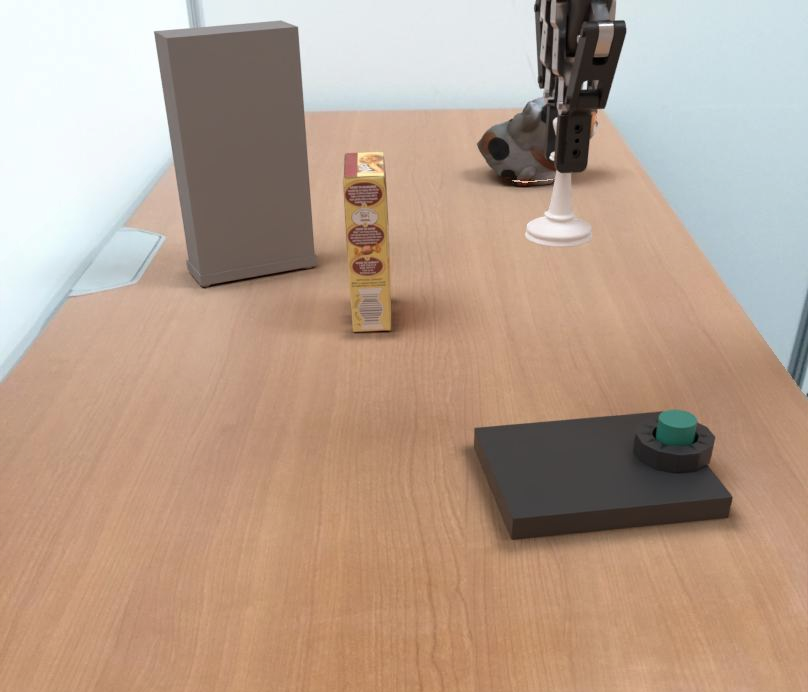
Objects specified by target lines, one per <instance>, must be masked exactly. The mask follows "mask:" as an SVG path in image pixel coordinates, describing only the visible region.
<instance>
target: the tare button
mask: <svg viewBox="0 0 808 692" xmlns="http://www.w3.org/2000/svg"><path fill="white" fill-rule="evenodd" d="M663 411H664V412H662V413H661V414H660V415H659V419H658V425H657V431H656V439H657V440H658V441H660V442H662V443H664V444H667V445H672V446H678V447H679V446H690V445H692V444H693V442H694V437H695V432H696V427H697V422H698V418H697V416H696V415H694V414H693V413H691V412H689V411H687V410H682V409H667V410H663Z"/></svg>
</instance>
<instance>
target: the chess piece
mask: <svg viewBox="0 0 808 692" xmlns="http://www.w3.org/2000/svg"><path fill="white" fill-rule="evenodd" d="M553 126H554V130H555V134H556V128H557V118H555V119H554V120H553ZM554 155H555V152H552V153H551V156H550V157H549V158H550V159H551V160H552V161H554ZM549 202H550V203H549V207H548V210H546V211H544V213H543V216H539V217H536V218H534V219H532V220H530V221H529V222H528V223H527V225H526V227H525V228H526V231H525V233H524V238H526V240H527V241H529V242H531V243H533V244H536V245H539V246H544V247H550V248H551V247H552V248H571V247H572V248H573V247H579V246H582V245H585V244H588V243H589V242H591V241H592V239H593V233H592V232H593V227H592V225H591V224H590V223H589V222H588V221H586V220H584V219H582V218H579V217H576V216H577V212H576V211H574V210H573V200H572V173H560V172H558V171H557V170H556V176H555V180H554V181H553V188H552V192H551V198H550V201H549Z"/></svg>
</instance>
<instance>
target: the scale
mask: <svg viewBox="0 0 808 692" xmlns="http://www.w3.org/2000/svg"><path fill="white" fill-rule="evenodd" d="M664 411H665V410H662V411H648V412H639V413H638V412H637V413H627V414H616V415H605V416H604V415H603V416H593V417H583V418H581V417H580V418H570V419H560V420H547V421H536V422H527V423H526V422H524V423H514V424H502V425H490V426H480V427H478V426H477V427H474V428H473V430H474V431H473V449H474V451H475V455H476V457H477V459H478V461H479V464H480V466H481V469H482V471H483V473H484V474H483V475H484V476H485V478H486V481H487V483H488V486H489V489H490V491H491V493H492V497H493V498H494V500H495V503H496V505H497V508H498V511H499V513H500V515H501V518H502V521H503V522H504V525H505V528H506V530H507V533H508V535H509V537H510V539H511V541H514V540H523V539H535V538H544V537H554V536H564V535H575V534H583V533H594V532H605V531H615V530H622V529H633V528H644V527H652V526H662V525H672V524H681V523H682V524H683V523H693V522H701V521H702V522H703V521H711V520H713V521H714V520H721V519H722V520H723V519H729V516H730V512H731V508H732V503H733V499H734V496H733V495H732V494H731V493H730V491H729V490H728V489H727V488H726V487H727V486H725V485H724V484H723V482H722V481H721V480H720V478H719V477H718V476H717V474H716V473H715V472H714V471H713V469H712V468H711V467H710V464H711V460H712V457H713V452H714V446H715V443H716V436H715V434H714V433H713V432H712V431H711V429H710V428H709V427H708V426H706V425H704V424H702V423H699V422H698V421H697V427H696V432H695V437H694V442H693V444H692V445H690V446H679V447H678V446H672V445H667V444H664V443H662V442H660V441H658V440H657V439H656V431H657V425H658V419H659V415H660V414H661V413H662V412H664Z"/></svg>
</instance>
